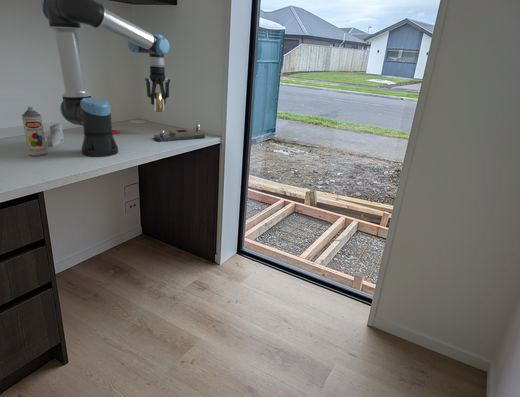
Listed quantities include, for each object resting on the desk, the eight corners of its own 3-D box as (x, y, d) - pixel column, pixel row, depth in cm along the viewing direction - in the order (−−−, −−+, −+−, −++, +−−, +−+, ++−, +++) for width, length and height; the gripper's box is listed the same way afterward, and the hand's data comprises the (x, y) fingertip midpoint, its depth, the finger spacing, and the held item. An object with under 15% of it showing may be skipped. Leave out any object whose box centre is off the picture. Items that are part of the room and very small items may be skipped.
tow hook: (109, 131, 209) (100, 133, 200) (108, 108, 205) (98, 109, 196) (123, 132, 208) (114, 135, 199) (121, 109, 204) (113, 111, 195)
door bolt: (160, 141, 190) (159, 128, 187) (154, 138, 197) (153, 125, 194) (204, 138, 204) (204, 125, 201) (197, 135, 211) (197, 123, 208)
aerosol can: (29, 157, 151) (20, 108, 144) (28, 153, 156) (19, 106, 149) (48, 155, 155) (40, 108, 147) (46, 151, 160) (38, 105, 152)
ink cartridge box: (47, 147, 168) (44, 126, 164) (59, 141, 178) (56, 121, 175) (53, 147, 168) (49, 126, 164) (64, 142, 178) (61, 122, 175)
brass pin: (156, 111, 198) (155, 93, 194) (154, 110, 201) (153, 92, 197) (163, 111, 200) (163, 93, 196) (160, 110, 203) (160, 92, 200)
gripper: (169, 66, 200) (170, 109, 208) (138, 64, 190) (141, 109, 199) (175, 67, 194) (175, 111, 202) (143, 65, 185) (145, 111, 193)
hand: (158, 110), depth 200 cm, fingers closed on brass pin, 4 cm apart
